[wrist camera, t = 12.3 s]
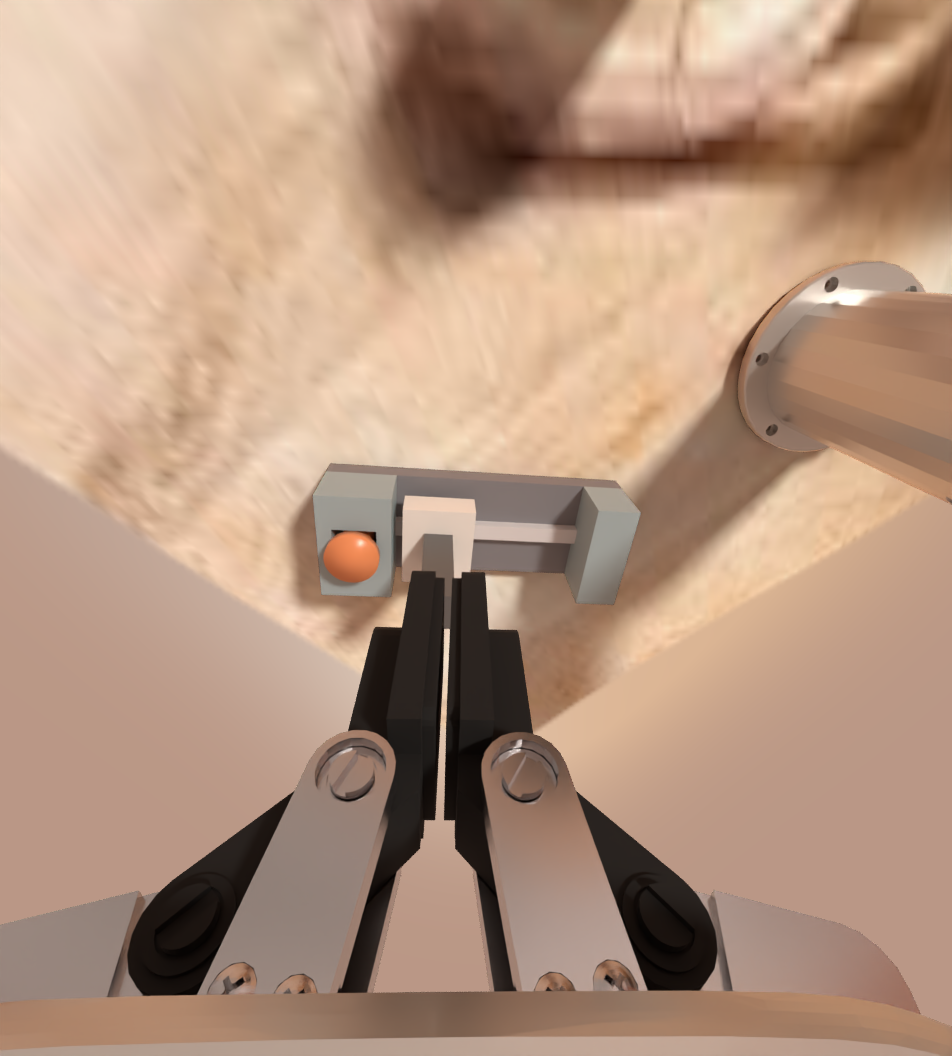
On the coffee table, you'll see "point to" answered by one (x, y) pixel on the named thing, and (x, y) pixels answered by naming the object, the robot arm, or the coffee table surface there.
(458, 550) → the carriage
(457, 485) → the rail board
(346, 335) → the coffee table surface
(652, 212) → the coffee table surface
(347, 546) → the button
